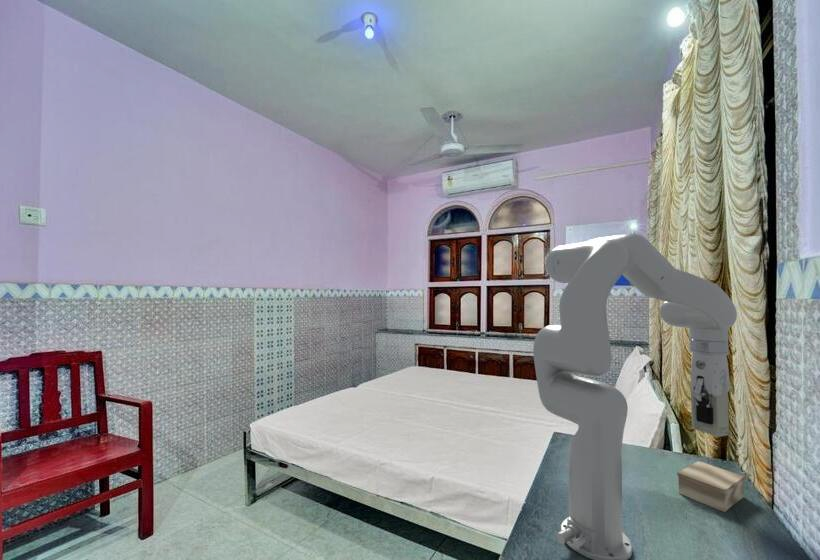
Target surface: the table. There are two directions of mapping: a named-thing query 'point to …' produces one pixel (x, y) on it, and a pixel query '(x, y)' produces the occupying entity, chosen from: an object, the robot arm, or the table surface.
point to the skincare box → (719, 414)
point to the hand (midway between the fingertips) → (709, 419)
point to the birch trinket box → (711, 485)
